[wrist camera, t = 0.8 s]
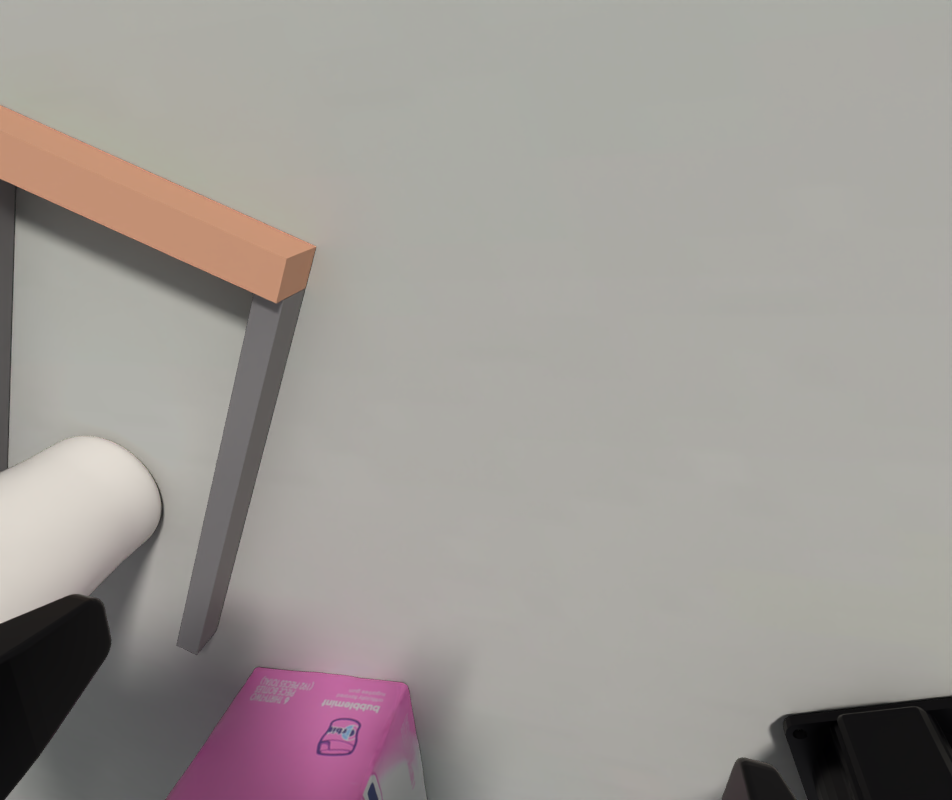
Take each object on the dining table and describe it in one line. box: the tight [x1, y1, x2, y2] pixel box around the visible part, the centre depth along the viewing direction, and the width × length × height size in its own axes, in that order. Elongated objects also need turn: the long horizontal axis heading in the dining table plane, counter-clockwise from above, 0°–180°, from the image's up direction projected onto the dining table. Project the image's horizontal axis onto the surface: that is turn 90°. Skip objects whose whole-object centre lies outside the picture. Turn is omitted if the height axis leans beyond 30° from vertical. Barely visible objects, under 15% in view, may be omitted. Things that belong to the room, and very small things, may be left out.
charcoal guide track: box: [0, 179, 305, 655], centre depth 25 cm, size 18×12×2 cm
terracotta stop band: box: [0, 105, 316, 303], centre depth 20 cm, size 2×12×2 cm, turn 69°
